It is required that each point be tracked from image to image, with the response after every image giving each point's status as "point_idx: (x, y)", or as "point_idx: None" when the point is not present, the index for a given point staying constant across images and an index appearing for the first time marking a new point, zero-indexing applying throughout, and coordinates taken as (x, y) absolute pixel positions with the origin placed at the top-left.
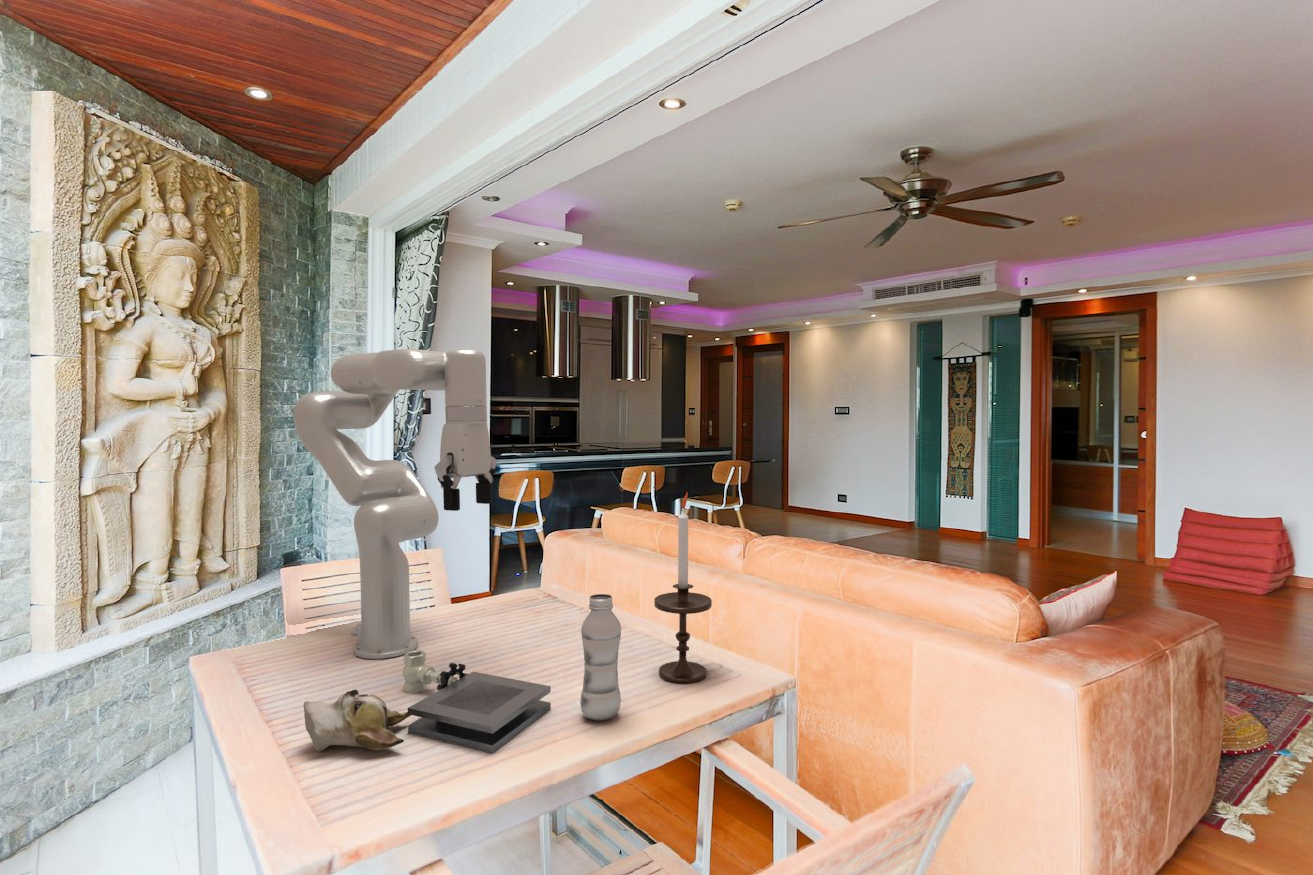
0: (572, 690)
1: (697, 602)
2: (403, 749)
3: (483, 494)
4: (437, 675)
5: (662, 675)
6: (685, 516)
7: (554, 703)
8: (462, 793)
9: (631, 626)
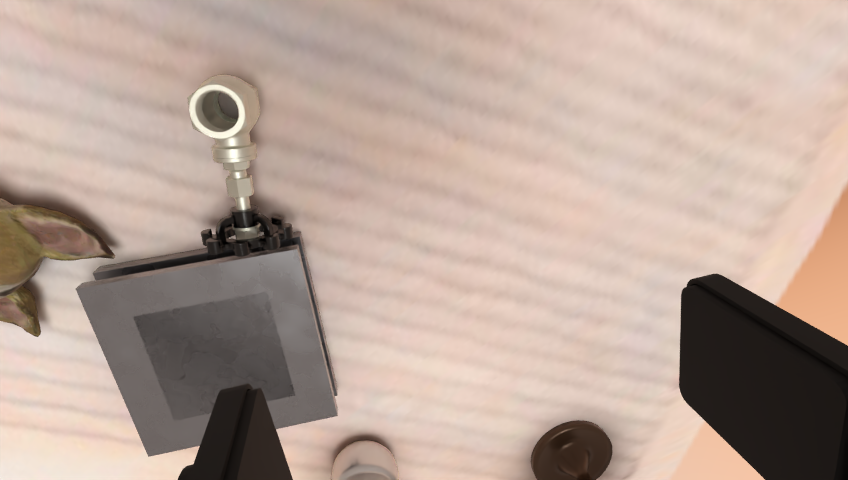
0: (421, 364)
1: None
2: (59, 309)
3: (735, 399)
4: (232, 195)
5: (539, 447)
6: None
7: (360, 376)
8: (58, 470)
9: (773, 243)
